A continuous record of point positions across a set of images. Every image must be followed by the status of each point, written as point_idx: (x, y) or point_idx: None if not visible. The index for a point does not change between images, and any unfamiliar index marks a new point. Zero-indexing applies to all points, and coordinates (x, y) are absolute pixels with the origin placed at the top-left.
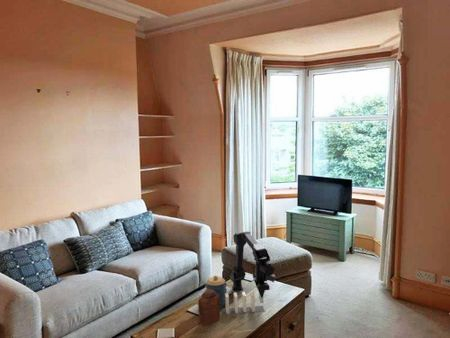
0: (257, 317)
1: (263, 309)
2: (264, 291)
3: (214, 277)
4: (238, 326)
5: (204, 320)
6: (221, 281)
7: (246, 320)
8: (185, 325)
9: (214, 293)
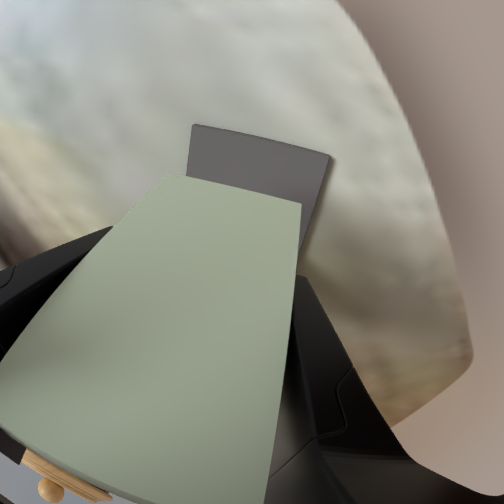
0: (374, 261)
1: (275, 150)
2: (372, 404)
3: (59, 500)
4: (389, 384)
5: None
6: (71, 487)
7: (363, 338)
8: None
9: None
